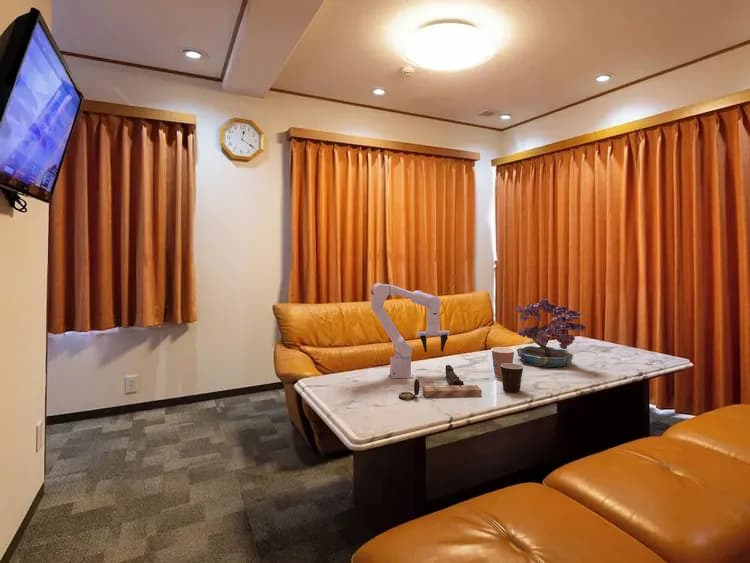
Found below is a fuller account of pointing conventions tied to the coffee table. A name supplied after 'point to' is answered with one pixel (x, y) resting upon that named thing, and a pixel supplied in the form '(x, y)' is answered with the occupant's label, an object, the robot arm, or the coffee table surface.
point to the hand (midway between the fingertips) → (433, 351)
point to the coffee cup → (501, 358)
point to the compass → (408, 394)
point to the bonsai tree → (548, 334)
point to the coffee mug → (511, 377)
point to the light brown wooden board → (452, 391)
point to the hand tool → (452, 376)
